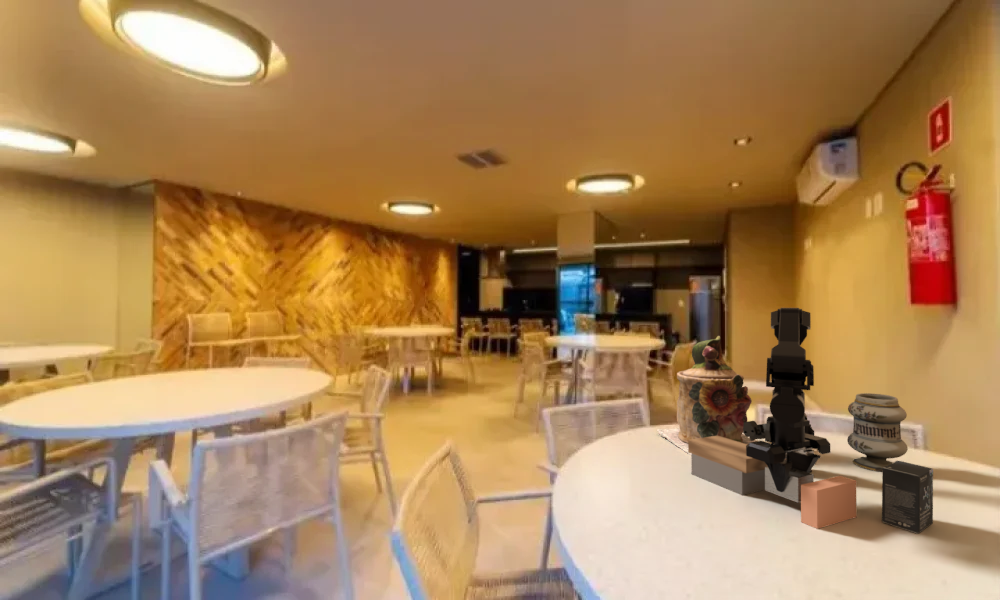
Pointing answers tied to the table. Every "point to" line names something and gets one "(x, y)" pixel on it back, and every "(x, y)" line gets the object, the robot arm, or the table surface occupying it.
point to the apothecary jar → (876, 430)
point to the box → (907, 496)
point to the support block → (789, 484)
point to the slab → (725, 453)
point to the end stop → (828, 501)
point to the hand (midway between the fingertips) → (788, 489)
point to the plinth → (728, 476)
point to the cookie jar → (709, 399)
